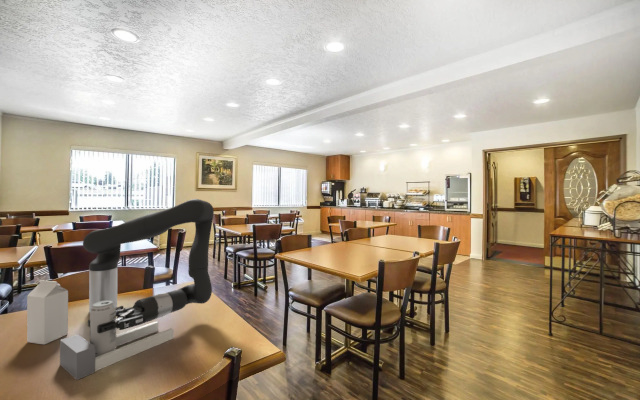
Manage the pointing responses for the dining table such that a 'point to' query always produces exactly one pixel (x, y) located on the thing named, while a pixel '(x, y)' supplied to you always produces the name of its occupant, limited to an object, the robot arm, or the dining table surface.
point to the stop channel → (81, 353)
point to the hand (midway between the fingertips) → (93, 326)
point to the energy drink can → (101, 315)
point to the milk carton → (47, 313)
